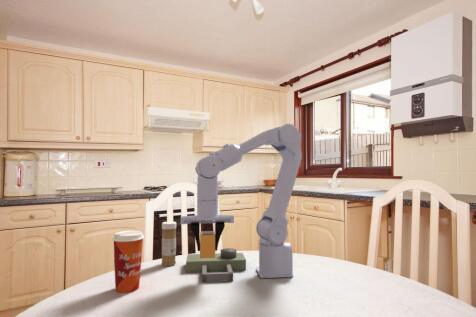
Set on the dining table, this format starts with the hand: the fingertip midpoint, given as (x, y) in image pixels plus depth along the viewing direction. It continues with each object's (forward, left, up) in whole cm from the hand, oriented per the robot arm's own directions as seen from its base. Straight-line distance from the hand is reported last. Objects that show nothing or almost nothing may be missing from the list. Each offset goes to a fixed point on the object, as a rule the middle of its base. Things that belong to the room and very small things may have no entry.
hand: (207, 249), depth 81 cm
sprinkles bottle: (+12, -16, -9) cm, 22 cm away
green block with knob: (-3, -7, -8) cm, 11 cm away
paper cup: (+20, +3, -9) cm, 22 cm away
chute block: (0, 0, -2) cm, 2 cm away
